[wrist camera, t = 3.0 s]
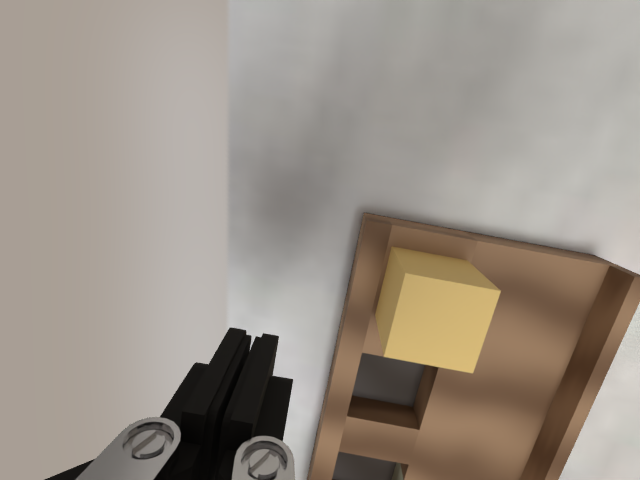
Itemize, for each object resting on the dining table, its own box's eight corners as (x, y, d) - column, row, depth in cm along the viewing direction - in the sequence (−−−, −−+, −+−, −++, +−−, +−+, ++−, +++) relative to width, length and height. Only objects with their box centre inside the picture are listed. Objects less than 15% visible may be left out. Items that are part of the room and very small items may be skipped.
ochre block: (391, 246, 21) (405, 273, 16) (467, 260, 21) (501, 290, 16) (375, 314, 22) (383, 357, 18) (446, 328, 22) (472, 373, 18)
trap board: (364, 212, 23) (369, 227, 19) (594, 255, 23) (649, 279, 19) (301, 505, 29) (295, 562, 25) (479, 538, 29) (502, 601, 25)
